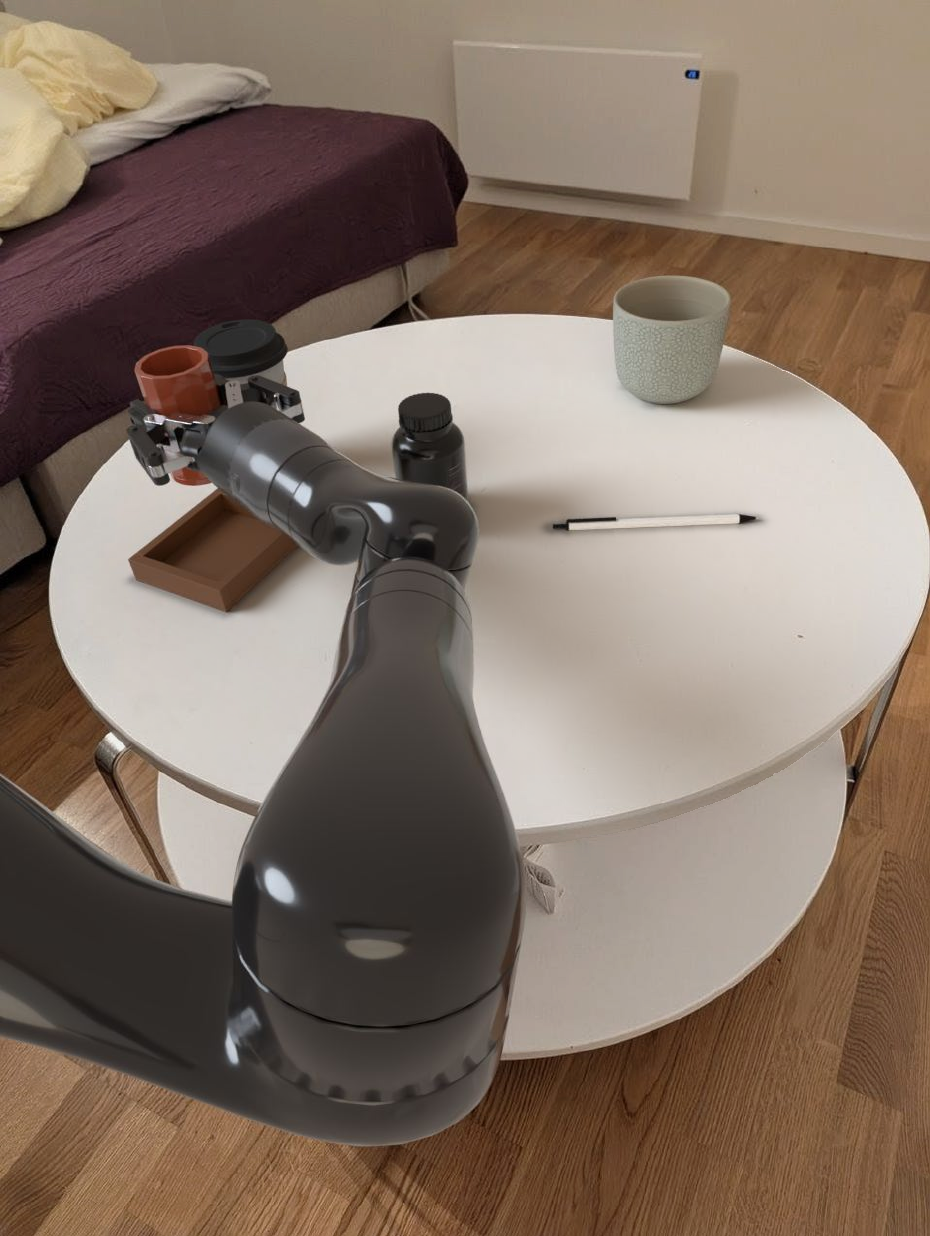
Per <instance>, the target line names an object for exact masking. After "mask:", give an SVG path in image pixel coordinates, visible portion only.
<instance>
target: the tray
mask: <svg viewBox="0 0 930 1236" xmlns="http://www.w3.org/2000/svg"><path fill="white" fill-rule="evenodd" d="M298 547H299V546H298V545H297V544H296V543H294V542H293V541H292V540H290V539H289V538H288V537H287V536H285V535H284V534H283V533H281V532H280V531H278V530H276V529H274V528H272V527H270V526H268V525H266V524H265V523H263V522H261V521H260V520H259V519H257V518H256V517H255V516H253V515H252V514H251V513H250V512H248V511H247V510H246V509H244V508H243V507H242V506H240V505H239V504H238V503H237V502H235V501H234V500H233V499H232V498H230V497H229V496H228V495H226V494H225V493H224V492H222V491H221V490H220V489H218V488H217V487H216V489H215V490H213V491H212V492H211V493H210V494H208V495H207V496H206V497H204V498H203V499H202V500H201V501H200V502H199V503H197V504H196V505H195V506H194V507H192V508H191V509H190V510H189V511H187V512H186V513H184V514H183V515H182V516H180V517H179V518H178V519H177V520H176V521H174V522H173V523H172V524H170V525H169V526H168V527H167V528H166V529H164V530H163V531H162V532H161V533H159V534H158V535H157V536H156V537H154V538H153V539H152V540H150V541H149V542H148V543H147V544H145V545H144V546H143V547H142V548H140V549H139V550H138V551H137V552H135V553H134V554H132V555H131V556H130V557H129V558H128V559H127V561H128V563H129V567H130V569H131V572H132V573H133V577H134V579H135V580H136V581H137V582H140V583H143V584H146V585H149V586H151V587H154V588H157V589H160V590H162V591H165V592H168V593H171V594H174V595H177V596H180V597H182V598H185V599H188V600H191V601H193V602H197V603H199V604H202V605H205V606H206V607H207V606H208V607H210V608H213V609H216V610H217V611H221V612H224V613H227V612H229V611H230V610H231V609H232V608H233V607H234V606H235V605H237V603H238V602H239V601H240V600H241V599H243V597H245V596H246V595H247V594H248V593H249V592H250V591H251V590H252V589H253V588H255V586H257V585H258V583H260V582H261V581H262V580H263V579H264V578H265V577H266V576H267V575H268V574H269V573H271V571H272V570H274V569H275V568H276V567H277V566H278V565H279V564H280V563H281V562H282V561H283V560H284V559H286V557H288V556H289V555H290V554H291V553H292V552H293V551H294V550H295V549H296V548H298Z"/></svg>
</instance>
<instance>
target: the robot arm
mask: <svg viewBox="0 0 930 1236" xmlns="http://www.w3.org/2000/svg"><path fill="white" fill-rule="evenodd" d="M214 376H215V380H216V384H217V387H218V391H219V394H220V398H221V402H222V406H220V407H218V408H215V409H214V410H212V411H211V412H209V413H206V414H202V415H199V416H195V415H189V414H183V413H178V412H174V413H173V414H172V415H170V416H164V415H159V414H157V413H156V412H155V411H154V410H153V409H151V408H150V407H149V406H147V405H146V403H145V402H143V401H142V400H140V399H139V398H137V399H134V400H132V401H130V402H129V406H130V408H128V409H127V414H128V416H129V419H130V421H131V426H128V427H127V428H126V429H125V432H126V434H127V437H128V440H129V443H130V446H131V448H132V451H133V454H134V456H135V457H134V458H135V459H136V461H137V462H138V464H139V465H140V466H141V468H142V469H143V470H144V472H145V473H146V474H147V476H148V477H149V478H150V480H151V481H152V483H153V484H154V485H155V486H158V487H160V486H161V487H162V486H165V485H167V484H169V483H170V481H171V478H170V472H172V471H175V470H178V469H181V468H184V467H187V468H188V469H190V470H192V471H198V472H202V473H204V475H205V476H206V477H207V478H208V479H209V480H210V481H211V482H212V483H211V484H213V486H215V487H216V489H217V488H218V489H220V490H221V491H222V492H224V493H225V494H226V495H228V496H229V497H230V498H232V499H233V500H234V501H235V502H237V503H238V504H239V505H240V506H242V507H243V508H244V509H246V510H247V511H248V512H250V513H251V514H252V515H253V516H255V517H256V518H257V519H259V520H260V521H261V522H263V523H265V524H266V525H268V526H270V527H272V528H274V529H276V530H278V531H280V532H281V533H283V534H284V535H285V536H287V537H288V538H289V539H290V540H292V541H293V542H294V543H296V544H297V545H298V546H297V547H300V548H301V549H302V550H303V551H305V552H306V553H307V554H308V555H309V556H312V557H313V558H314V559H316V560H318V561H319V562H322V563H324V564H327V565H331V566H339V567H340V566H348V565H352V564H354V563H357V565H356V569H355V573H354V578H353V582H352V587H351V592H350V597H349V600H348V602H347V606H346V608H345V611H344V616H343V620H342V622H341V623H342V624H341V627H340V632H339V636H338V640H337V644H336V649H335V655H334V660H333V665H332V671H331V676H330V680H329V683H328V686H327V689H326V691H325V693H324V695H323V697H322V700H321V701H320V703H319V705H318V708H317V709H316V712H315V713H314V715H313V717H312V719H311V721H310V723H309V725H308V726H307V728H306V730H305V731H304V733H303V735H302V736H301V738H300V740H299V741H298V743H297V744H296V746H295V748H294V749H293V751H292V752H291V754H290V755H289V756H288V758H287V760H286V762H285V763H284V764H283V766H282V767H281V770H280V771H279V773H278V775H277V776H276V778H275V780H274V781H273V783H272V785H271V786H270V788H269V790H268V791H267V793H266V795H265V797H264V798H263V801H261V804H260V806H259V808H258V810H257V812H256V813H255V816H254V818H253V820H252V822H251V824H250V826H249V829H248V830H247V833H246V835H245V837H244V840H243V843H242V846H241V848H240V850H239V855H238V858H237V861H236V866H235V871H234V876H233V877H234V878H233V886H232V893H231V894H232V895H231V900H228V899H224V898H220V897H217V896H212V895H208V894H204V893H201V892H197V891H192V890H189V889H185V888H182V887H180V886H176V885H173V884H170V883H167V882H164V881H161V880H159V879H157V878H155V877H153V876H151V875H148V874H146V873H144V872H142V871H139V870H138V869H135V868H134V867H132V866H131V865H129V864H127V863H125V862H124V861H121V860H119V859H118V858H116V857H114V856H113V855H112V854H110V853H109V852H107V851H106V850H105V849H103V848H102V847H101V846H100V845H97V844H96V843H95V842H93V841H92V840H91V839H89V838H88V837H86V836H85V835H84V834H82V833H81V832H80V831H78V830H77V829H76V828H74V827H73V826H72V825H70V824H69V823H68V822H66V821H65V820H64V819H63V818H61V817H60V816H58V815H57V814H56V813H54V812H53V811H52V810H51V809H49V808H48V807H47V806H46V805H45V804H44V803H42V802H41V801H39V799H37V798H35V797H34V796H33V795H32V794H30V793H29V792H28V791H26V790H25V789H24V788H22V787H21V786H19V785H18V784H17V783H15V782H14V781H13V780H11V779H10V778H9V777H7V776H5V774H3V773H2V772H0V1038H1V1039H5V1040H10V1041H13V1042H18V1043H22V1044H25V1045H29V1046H33V1047H38V1048H42V1049H45V1050H48V1051H52V1052H56V1053H58V1054H62V1055H65V1056H68V1057H72V1058H74V1059H79V1060H82V1061H85V1062H87V1063H90V1064H94V1065H96V1066H99V1067H102V1068H105V1069H108V1070H111V1071H114V1072H117V1073H120V1074H123V1075H125V1076H128V1077H131V1078H134V1079H136V1080H139V1081H141V1082H144V1083H147V1084H150V1085H153V1086H155V1087H158V1088H160V1089H164V1090H165V1091H169V1092H171V1093H175V1094H178V1095H180V1096H182V1097H186V1098H188V1099H191V1100H193V1101H196V1102H199V1103H202V1104H205V1105H207V1106H210V1107H213V1108H216V1109H218V1110H221V1111H224V1112H226V1113H229V1114H232V1115H235V1116H238V1117H240V1118H243V1119H245V1120H249V1121H251V1122H254V1123H258V1124H261V1125H264V1126H266V1127H268V1128H269V1127H270V1128H273V1129H276V1130H280V1131H282V1132H284V1133H288V1134H291V1135H295V1136H299V1137H302V1138H307V1139H310V1140H315V1141H318V1142H324V1143H329V1144H337V1145H344V1146H352V1147H381V1146H382V1147H383V1146H397V1145H404V1144H409V1143H412V1142H415V1141H419V1140H422V1139H426V1138H429V1137H432V1136H435V1135H437V1134H439V1133H440V1132H443V1131H444V1130H446V1129H448V1128H450V1127H452V1126H453V1125H456V1124H457V1123H459V1122H460V1121H462V1120H463V1119H464V1118H465V1117H466V1116H467V1115H469V1114H470V1113H471V1112H472V1111H473V1110H474V1109H475V1108H476V1107H477V1106H478V1105H479V1104H480V1103H481V1101H482V1100H483V1098H484V1097H485V1096H486V1094H487V1093H488V1091H489V1089H490V1087H491V1086H492V1084H493V1081H494V1079H495V1076H496V1073H497V1072H498V1068H499V1066H500V1063H501V1060H502V1059H501V1058H502V1054H503V1049H504V1045H505V1040H506V1035H507V1029H508V1024H509V1019H510V1012H511V1011H510V1010H511V1006H512V1002H513V1001H512V1000H513V995H514V989H515V983H516V978H517V973H518V972H517V971H518V965H519V961H520V954H521V948H522V942H523V935H524V929H525V924H526V923H525V921H526V913H527V899H528V889H527V888H528V887H527V875H526V874H527V873H526V867H525V863H524V857H523V852H522V848H521V845H520V840H519V837H518V834H517V829H516V826H515V823H514V820H513V817H512V814H511V811H510V808H509V804H508V802H507V798H506V796H505V792H504V791H503V787H502V785H501V782H500V779H499V777H498V774H497V772H496V769H495V766H494V764H493V761H492V760H491V757H490V754H489V751H488V748H487V746H486V743H485V740H484V737H483V733H482V729H481V726H480V723H479V720H478V719H479V718H478V715H477V712H476V706H475V702H474V675H475V674H474V669H475V668H474V666H475V665H474V663H475V662H474V661H475V660H474V655H475V654H474V653H475V651H474V632H473V631H474V629H473V617H472V611H471V607H470V603H469V599H468V597H467V594H466V592H465V591H466V587H467V583H468V580H469V576H470V573H471V569H472V565H473V561H474V559H475V555H476V551H477V548H478V544H479V540H480V532H481V531H480V522H479V519H478V516H477V514H476V512H475V510H474V508H473V507H472V505H471V503H469V501H468V502H467V500H466V499H465V498H464V497H463V496H461V495H460V494H459V493H457V492H456V491H454V490H451V489H449V488H446V487H443V486H439V485H435V484H430V483H423V482H415V481H407V480H401V479H396V478H395V477H392V476H388V475H384V474H381V473H378V472H375V471H372V470H369V469H367V468H365V467H363V466H361V465H360V464H358V463H357V462H355V461H354V460H352V459H350V458H349V457H347V456H346V455H344V454H343V453H341V452H339V451H337V450H336V449H335V448H334V447H333V446H332V445H331V444H330V443H329V442H327V441H326V439H324V438H322V436H320V435H318V434H317V433H315V432H314V431H312V430H310V429H309V428H307V427H306V426H305V425H303V424H302V423H303V422H304V421H306V417H305V411H304V407H303V402H302V398H301V393H300V391H299V390H297V389H294V388H292V387H290V386H288V385H287V386H285V385H282V384H280V383H277V382H275V381H272V380H270V379H267V378H264V377H262V376H259V375H254V376H251V377H249V378H248V379H247V380H248V383H245V384H240V383H239V381H229V380H227V379H225V378H224V377H222V376H221V375H218V374H214ZM184 428H185V429H184ZM163 429H164V430H165V431H166V432H167V434H168V436H165V434H164V431H163ZM169 450H170V451H172V452H170V451H169Z"/></svg>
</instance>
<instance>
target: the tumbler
mask: <svg viewBox="0 0 930 1236" xmlns="http://www.w3.org/2000/svg"><path fill="white" fill-rule="evenodd" d="M134 373H135V377H136V379H137V383H138V385H139V388H140V391H141V394H142V397H143V401H144V404H146V405H147V406H149V407H150V408H151V409H153V410H154V411H155V412H156V413H157V414H159V415H164V416H170V415H172V414H173V413H174V412H178V413H183V414H189V415H195V416H199V415H202V414H206V413H209V412H211V411H212V410H214V409H215V408H218V407H220V406H222V402H221V398H220V394H219V391H218V387H217V384H216V380H215V376H214V373H213V369H212V365H211V362H210V358H209V355H208V353H207V352H206V351H205V350H204V349H202V348H201V347H196V346H194V345H188V344H187V345H173V346H172V345H171V346H167V347H164V348H159V349H156V350H154V351H152V352H149V353H148V354H145V355H144V356H142V357H141V358H140V359H139V360H138V361H136V363H135V367H134ZM184 429H185V428H184ZM163 431H164V434H165V436H168V434H167V432H166V431H165V430H164V429H163ZM169 451H170V450H169ZM170 452H172V451H170ZM169 476H170V477H171V479H172V480H173V481H174V482H175V483H177V484H179V485H182V486H190V487H198V486H204V485H210V484H213V483H212V482H211V481H210V480H209V479H208V478H207V477H206V476H205V475H204V473H202V472H198V471H192V470H190V469H188V468H187V467H184V468H181V469H178V470H175V471H172V472H170V473H169Z"/></svg>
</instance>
